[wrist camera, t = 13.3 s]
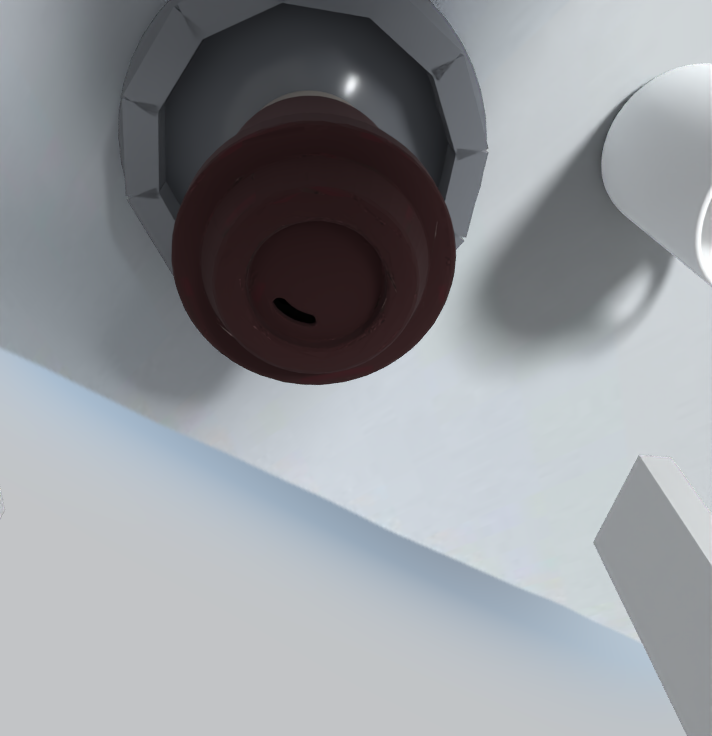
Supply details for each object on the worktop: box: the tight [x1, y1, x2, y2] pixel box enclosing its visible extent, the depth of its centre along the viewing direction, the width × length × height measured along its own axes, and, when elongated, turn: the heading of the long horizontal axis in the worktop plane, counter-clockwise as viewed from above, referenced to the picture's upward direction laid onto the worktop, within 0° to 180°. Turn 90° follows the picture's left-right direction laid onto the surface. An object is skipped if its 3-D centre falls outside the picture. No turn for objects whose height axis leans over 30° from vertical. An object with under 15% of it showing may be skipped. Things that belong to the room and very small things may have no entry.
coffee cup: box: [171, 91, 456, 385], centre depth 27 cm, size 10×10×15 cm
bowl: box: [119, 0, 488, 276], centre depth 33 cm, size 19×19×3 cm
